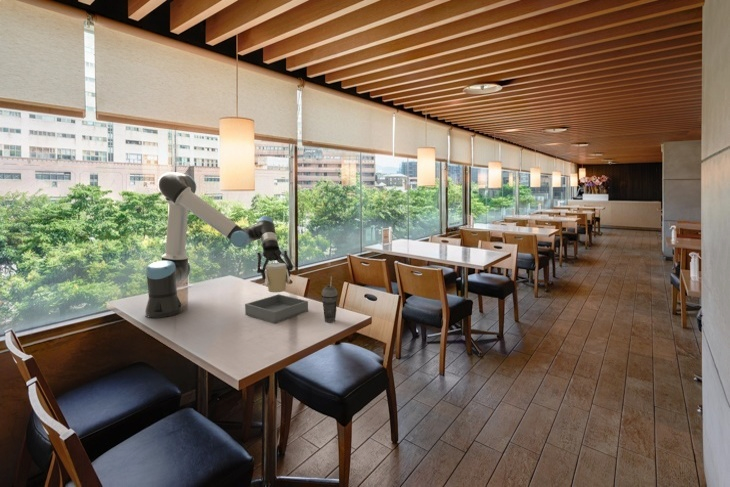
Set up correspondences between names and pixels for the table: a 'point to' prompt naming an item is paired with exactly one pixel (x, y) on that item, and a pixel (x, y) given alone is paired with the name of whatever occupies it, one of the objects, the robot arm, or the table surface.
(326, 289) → the beverage cup
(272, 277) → the coffee cup
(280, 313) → the grey bin
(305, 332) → the table surface
